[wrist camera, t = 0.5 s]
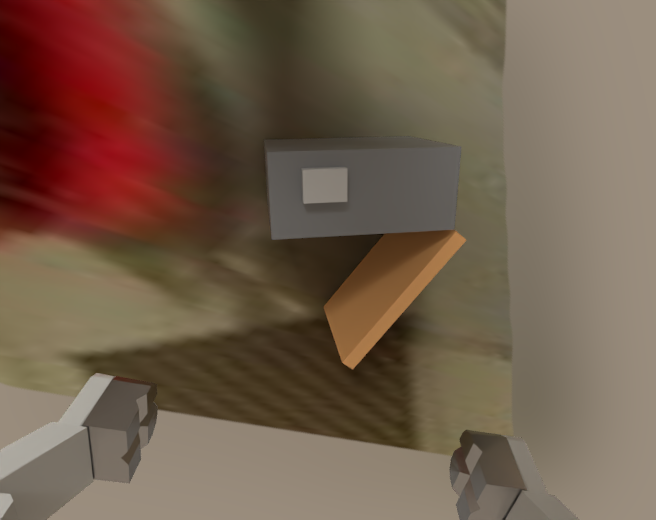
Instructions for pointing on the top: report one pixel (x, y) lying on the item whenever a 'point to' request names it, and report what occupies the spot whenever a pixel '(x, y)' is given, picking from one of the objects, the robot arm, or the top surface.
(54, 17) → the top surface
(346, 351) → the side door
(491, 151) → the top surface
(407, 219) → the block
